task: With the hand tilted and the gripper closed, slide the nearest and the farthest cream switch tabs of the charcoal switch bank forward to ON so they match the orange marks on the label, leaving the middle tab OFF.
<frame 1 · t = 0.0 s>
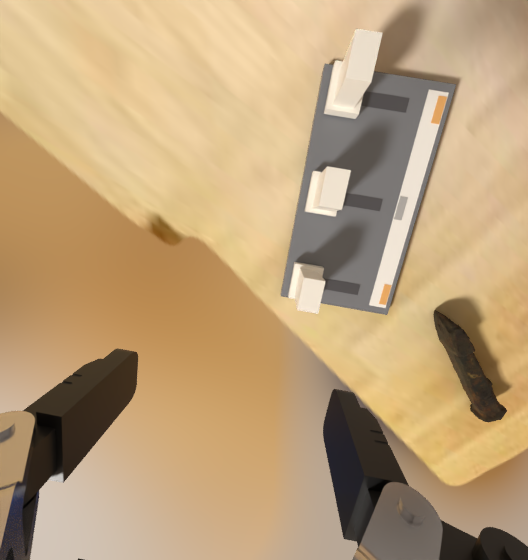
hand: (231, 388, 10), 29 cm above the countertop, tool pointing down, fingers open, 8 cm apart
hand tool: (452, 359, 41), on the countertop
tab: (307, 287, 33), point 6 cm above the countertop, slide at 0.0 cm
switch bank: (355, 202, 36), on the countertop
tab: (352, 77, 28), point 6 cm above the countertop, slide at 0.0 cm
middle tab: (328, 192, 31), point 6 cm above the countertop, slide at 0.0 cm
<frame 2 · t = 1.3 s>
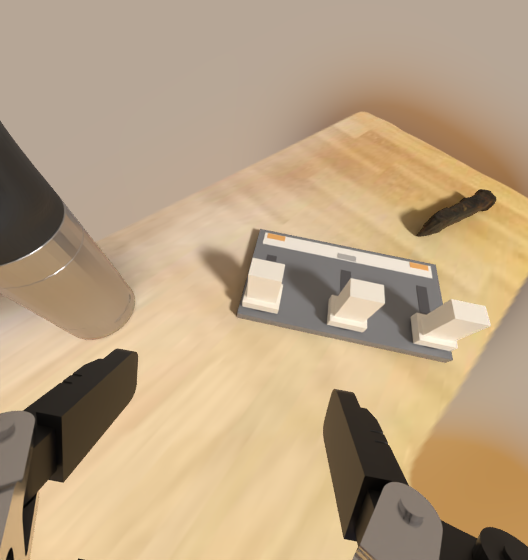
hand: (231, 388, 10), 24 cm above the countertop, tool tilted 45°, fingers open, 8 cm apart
hand tool: (449, 223, 51), on the countertop
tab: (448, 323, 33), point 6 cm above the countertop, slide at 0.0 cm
switch bank: (342, 291, 41), on the countertop
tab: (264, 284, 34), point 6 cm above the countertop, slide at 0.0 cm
middle tab: (355, 304, 33), point 6 cm above the countertop, slide at 0.0 cm
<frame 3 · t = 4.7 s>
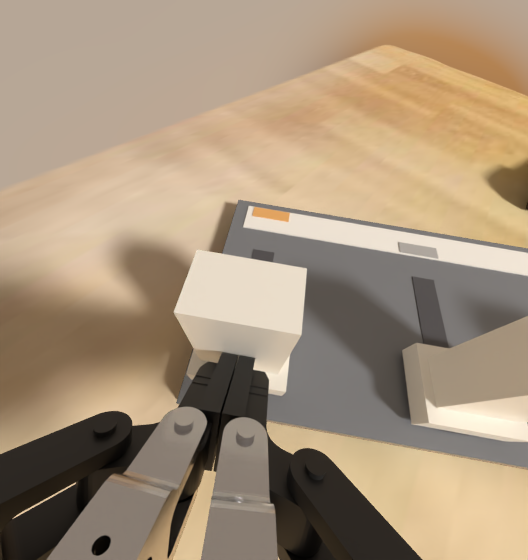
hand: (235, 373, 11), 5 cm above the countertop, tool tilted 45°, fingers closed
switch bank: (417, 323, 19), on the countertop
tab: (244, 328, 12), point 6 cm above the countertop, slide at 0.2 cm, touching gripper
middle tab: (508, 380, 11), point 6 cm above the countertop, slide at 0.0 cm
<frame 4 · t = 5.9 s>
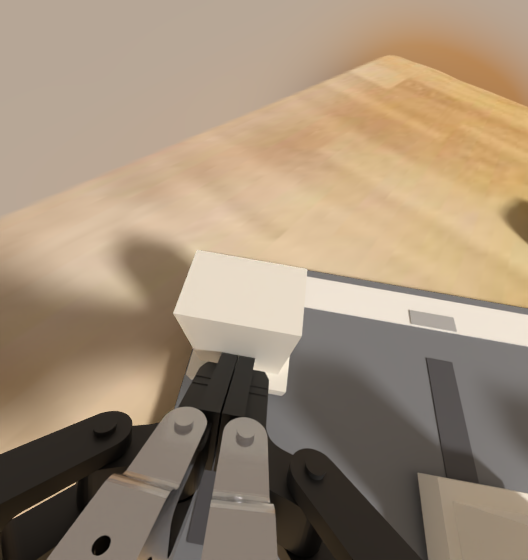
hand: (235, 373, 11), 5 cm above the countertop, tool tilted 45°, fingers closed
switch bank: (432, 415, 16), on the countertop
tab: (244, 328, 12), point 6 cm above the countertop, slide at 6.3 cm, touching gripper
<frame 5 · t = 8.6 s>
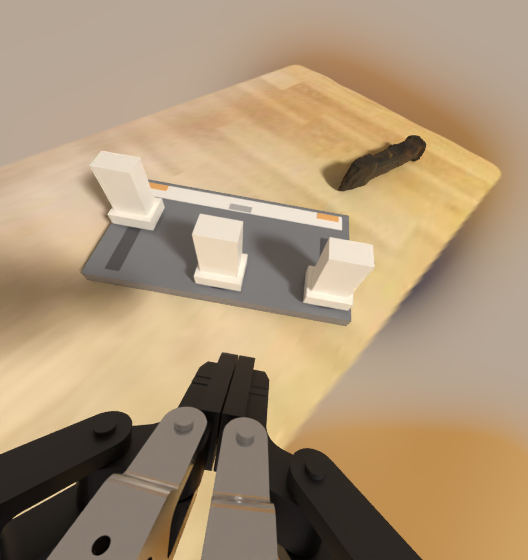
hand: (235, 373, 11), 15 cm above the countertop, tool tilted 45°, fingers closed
hand tool: (377, 176, 44), on the countertop
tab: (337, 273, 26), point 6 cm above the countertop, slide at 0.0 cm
switch bank: (232, 247, 33), on the countertop
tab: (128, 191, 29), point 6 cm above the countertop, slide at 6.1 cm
middle tab: (220, 252, 26), point 6 cm above the countertop, slide at 0.0 cm
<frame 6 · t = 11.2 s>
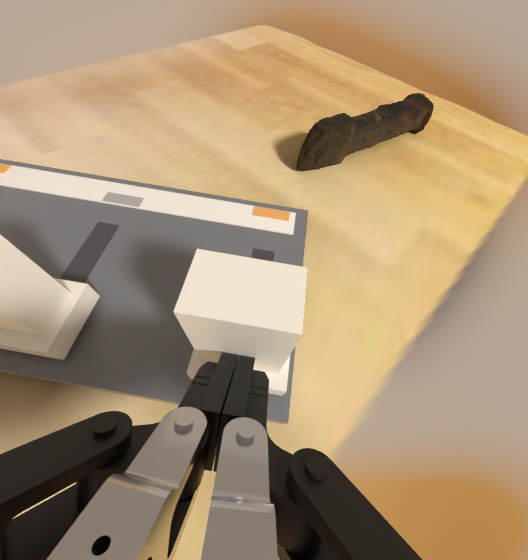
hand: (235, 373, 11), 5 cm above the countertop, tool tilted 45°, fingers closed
hand tool: (360, 152, 30), on the countertop
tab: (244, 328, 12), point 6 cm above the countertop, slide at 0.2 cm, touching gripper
switch bank: (99, 267, 19), on the countertop
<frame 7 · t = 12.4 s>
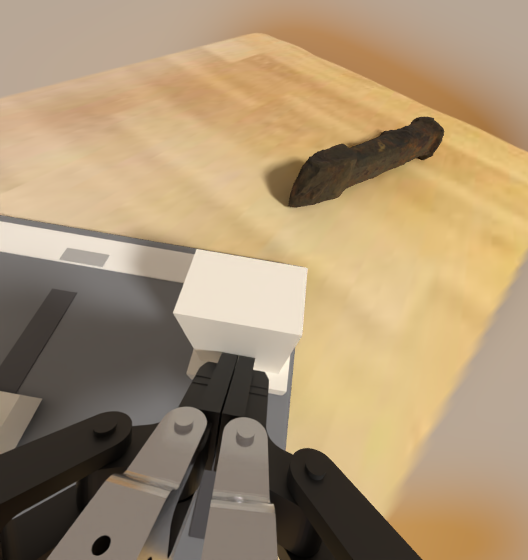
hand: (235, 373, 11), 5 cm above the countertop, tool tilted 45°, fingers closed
hand tool: (362, 183, 27), on the countertop
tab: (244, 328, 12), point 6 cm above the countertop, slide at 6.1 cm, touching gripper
switch bank: (52, 343, 16), on the countertop
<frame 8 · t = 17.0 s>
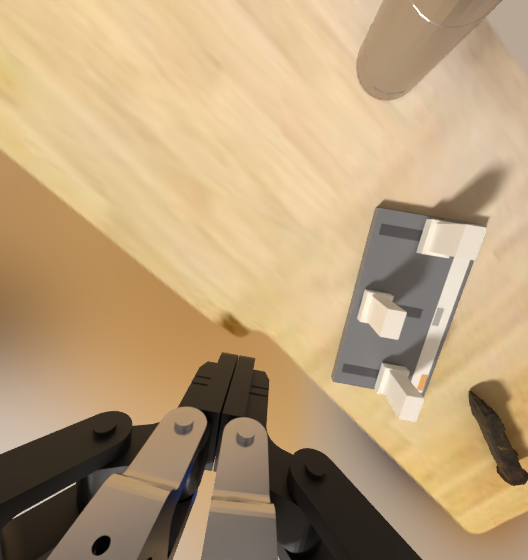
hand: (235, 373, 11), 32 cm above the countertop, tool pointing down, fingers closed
hand tool: (482, 428, 48), on the countertop
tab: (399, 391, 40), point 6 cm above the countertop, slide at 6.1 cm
switch bank: (398, 307, 43), on the countertop
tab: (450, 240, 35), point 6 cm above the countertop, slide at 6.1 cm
middle tab: (382, 314, 38), point 6 cm above the countertop, slide at 0.0 cm
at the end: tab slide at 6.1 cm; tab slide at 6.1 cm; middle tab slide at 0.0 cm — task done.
